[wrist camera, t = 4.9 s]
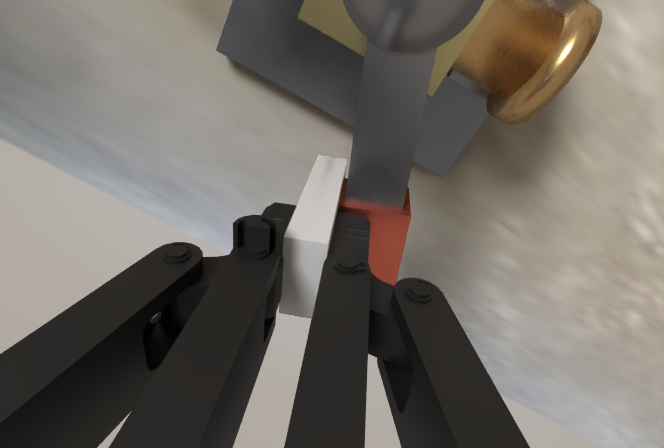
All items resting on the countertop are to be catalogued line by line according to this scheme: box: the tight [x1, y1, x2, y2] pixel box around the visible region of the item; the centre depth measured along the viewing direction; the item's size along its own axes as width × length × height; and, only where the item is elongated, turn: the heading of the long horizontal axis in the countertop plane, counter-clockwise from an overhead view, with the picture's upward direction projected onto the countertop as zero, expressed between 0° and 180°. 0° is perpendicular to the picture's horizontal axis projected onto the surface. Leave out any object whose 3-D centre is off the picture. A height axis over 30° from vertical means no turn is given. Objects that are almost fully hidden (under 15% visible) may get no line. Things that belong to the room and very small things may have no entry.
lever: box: [337, 0, 485, 286], centre depth 14 cm, size 13×4×2 cm, turn 174°
